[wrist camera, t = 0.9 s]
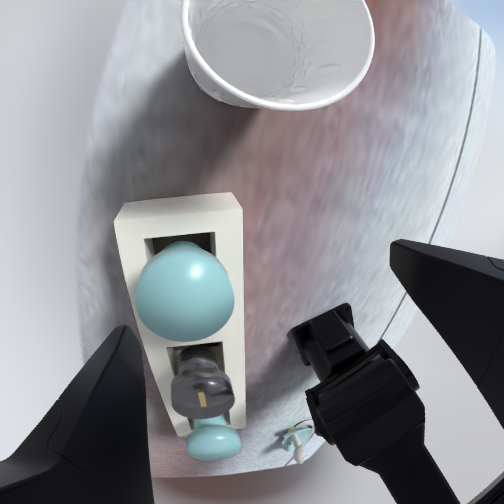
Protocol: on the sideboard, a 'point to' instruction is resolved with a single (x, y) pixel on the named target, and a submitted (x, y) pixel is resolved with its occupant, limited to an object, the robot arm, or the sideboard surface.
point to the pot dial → (200, 385)
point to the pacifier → (298, 439)
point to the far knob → (213, 440)
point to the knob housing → (222, 247)
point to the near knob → (184, 293)
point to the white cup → (277, 50)
